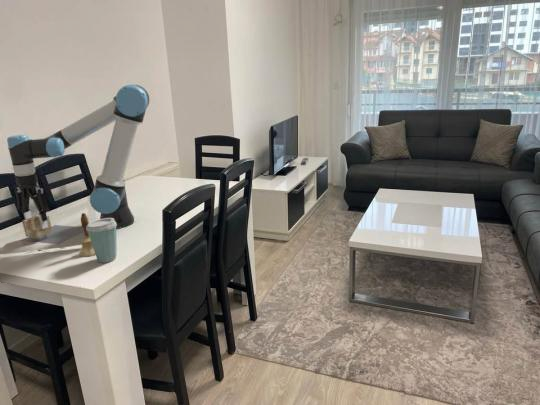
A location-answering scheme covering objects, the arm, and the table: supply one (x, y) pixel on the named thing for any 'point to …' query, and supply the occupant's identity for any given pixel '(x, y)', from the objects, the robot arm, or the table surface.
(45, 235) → the steel block
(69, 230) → the base board
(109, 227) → the disposable coffee cup
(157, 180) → the table surface
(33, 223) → the hollow wooden cube frame
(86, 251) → the hand bell
